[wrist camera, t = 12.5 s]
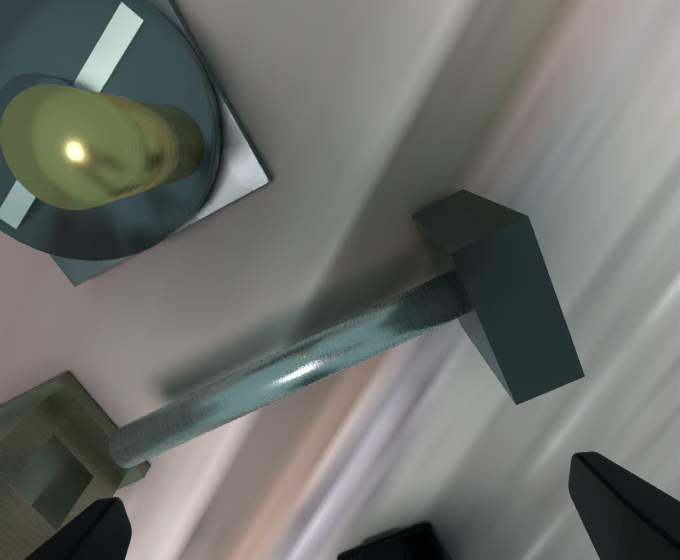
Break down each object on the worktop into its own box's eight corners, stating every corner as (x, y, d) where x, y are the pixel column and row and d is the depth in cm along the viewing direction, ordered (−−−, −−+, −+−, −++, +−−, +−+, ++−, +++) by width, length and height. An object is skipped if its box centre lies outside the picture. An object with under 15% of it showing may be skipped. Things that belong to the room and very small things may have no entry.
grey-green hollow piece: (150, 466, 23) (64, 627, 16) (64, 505, 24) (-58, 677, 16) (68, 371, 21) (-79, 505, 13) (-24, 417, 22) (-211, 568, 14)
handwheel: (28, -105, 13) (-321, -381, 6) (272, 109, 16) (225, 90, 9) (-93, 141, 16) (-447, 147, 9) (135, 295, 18) (8, 401, 11)
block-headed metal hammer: (509, 304, 19) (584, 376, 14) (182, 453, 22) (131, 566, 16) (462, 189, 17) (528, 216, 12) (111, 365, 20) (23, 458, 14)
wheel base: (272, 179, 18) (269, 181, 17) (87, 278, 19) (75, 286, 18) (132, -73, 15) (119, -87, 14) (-77, 66, 16) (-102, 62, 15)
